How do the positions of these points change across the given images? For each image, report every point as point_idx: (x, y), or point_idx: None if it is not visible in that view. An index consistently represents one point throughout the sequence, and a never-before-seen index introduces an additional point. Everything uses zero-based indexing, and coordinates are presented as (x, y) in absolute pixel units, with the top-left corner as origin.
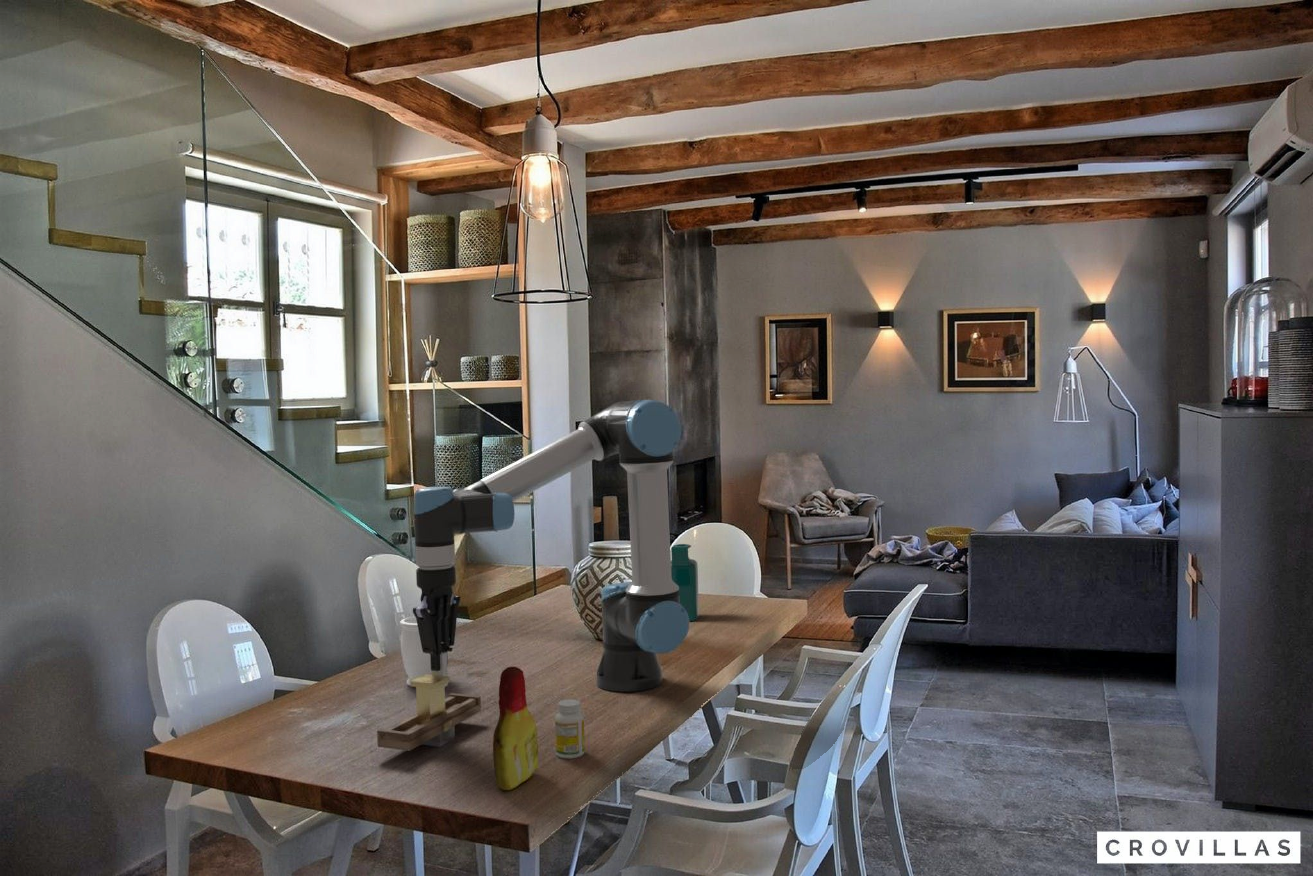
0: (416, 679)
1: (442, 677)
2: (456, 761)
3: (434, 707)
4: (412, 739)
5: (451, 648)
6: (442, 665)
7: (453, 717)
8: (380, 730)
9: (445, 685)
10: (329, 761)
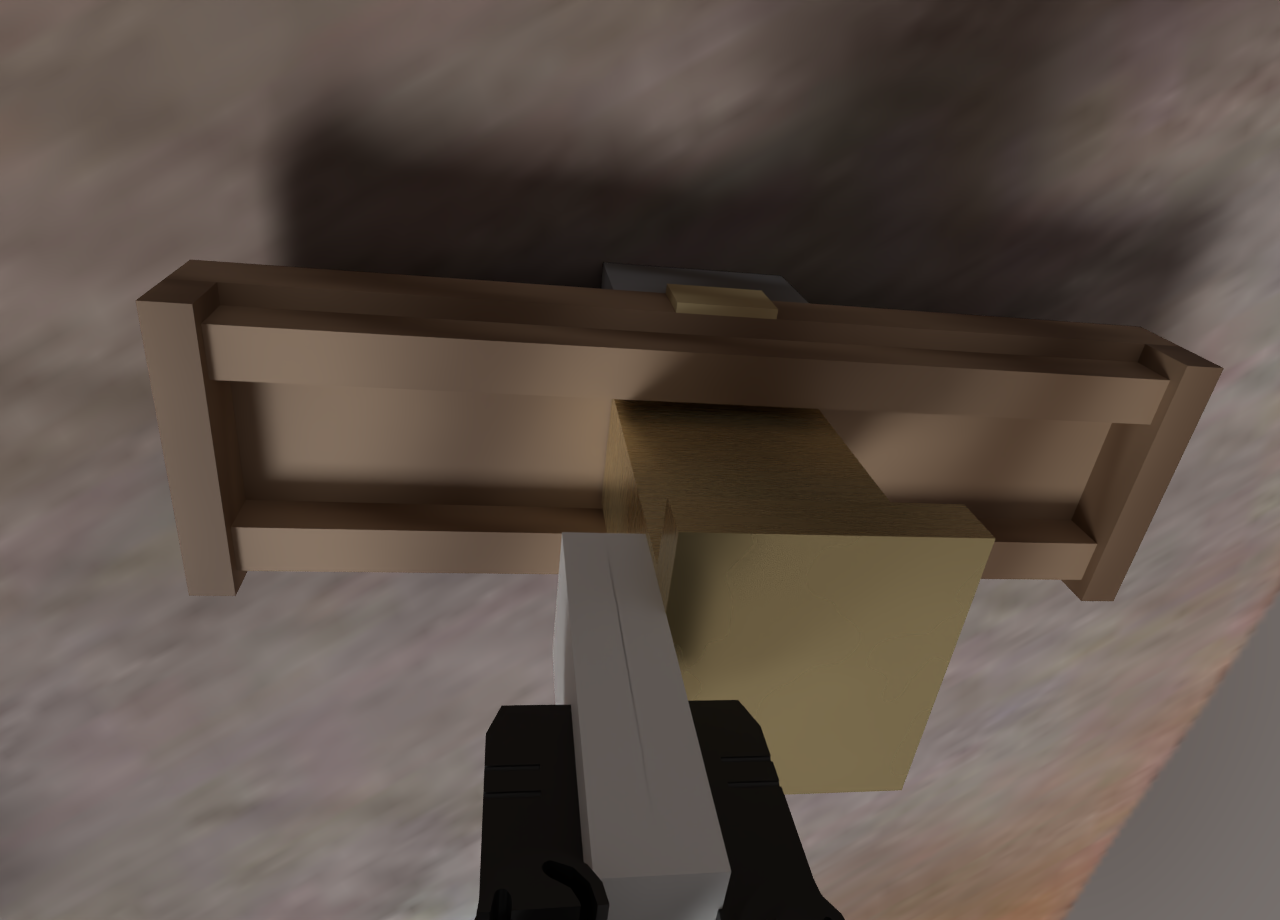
0: (838, 775)
1: (732, 589)
2: (1042, 5)
3: (788, 454)
4: (1116, 358)
5: (521, 904)
6: (692, 720)
7: (610, 321)
8: (1114, 584)
9: (613, 537)
10: (1017, 683)
